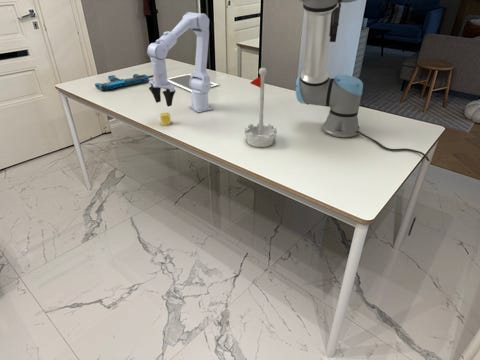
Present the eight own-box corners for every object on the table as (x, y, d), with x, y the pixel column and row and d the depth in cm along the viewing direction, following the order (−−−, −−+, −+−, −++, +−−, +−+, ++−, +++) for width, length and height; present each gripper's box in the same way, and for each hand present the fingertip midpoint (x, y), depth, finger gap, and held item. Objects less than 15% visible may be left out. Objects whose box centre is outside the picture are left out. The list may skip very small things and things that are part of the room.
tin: (162, 121, 159) (160, 112, 156) (171, 121, 159) (170, 112, 156) (160, 125, 155) (159, 116, 153) (170, 125, 155) (169, 115, 153)
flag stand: (267, 132, 148) (271, 61, 132) (281, 144, 138) (286, 70, 122) (240, 137, 144) (240, 65, 128) (252, 150, 134) (253, 74, 118)
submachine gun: (139, 68, 225) (158, 74, 208) (140, 74, 226) (158, 80, 210) (87, 78, 206) (103, 86, 189) (89, 84, 208) (104, 92, 191)
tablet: (162, 79, 213) (162, 79, 213) (189, 73, 224) (189, 73, 224) (191, 92, 193) (191, 91, 192) (219, 85, 204) (219, 84, 203)
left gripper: (141, 72, 146) (146, 102, 153) (163, 78, 138) (167, 110, 145) (154, 68, 150) (158, 98, 158) (176, 74, 143) (180, 105, 150)
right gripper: (328, -13, 165) (322, 34, 177) (331, -9, 145) (325, 44, 156) (344, -13, 164) (337, 34, 176) (349, -9, 144) (341, 44, 155)
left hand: (163, 103), depth 152 cm, fingers open, 7 cm apart
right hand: (331, 39), depth 166 cm, fingers open, 13 cm apart
